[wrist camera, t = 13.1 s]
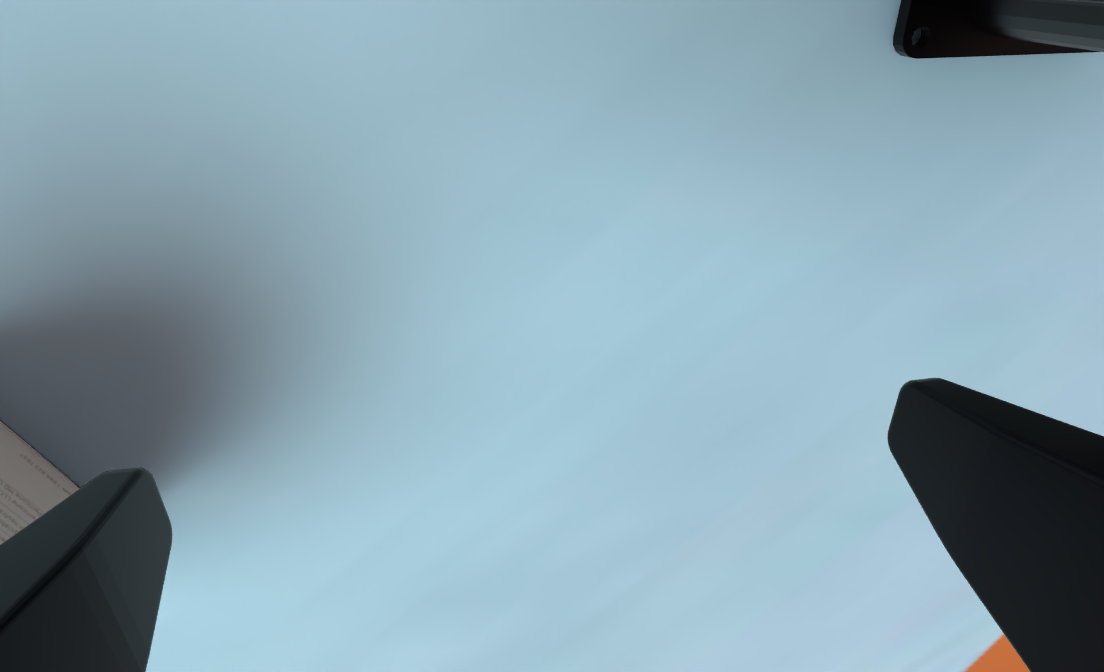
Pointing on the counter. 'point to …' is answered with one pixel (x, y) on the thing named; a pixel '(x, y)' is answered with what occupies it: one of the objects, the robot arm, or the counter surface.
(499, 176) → the counter surface
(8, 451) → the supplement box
